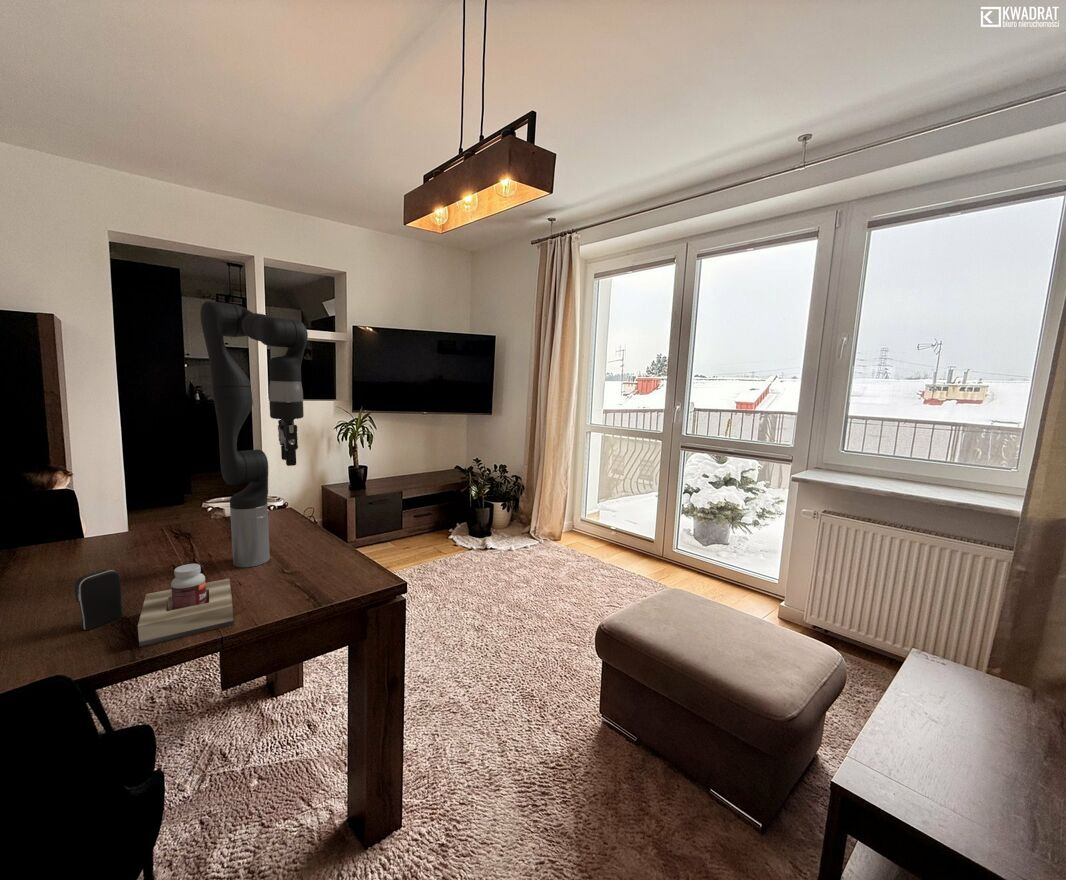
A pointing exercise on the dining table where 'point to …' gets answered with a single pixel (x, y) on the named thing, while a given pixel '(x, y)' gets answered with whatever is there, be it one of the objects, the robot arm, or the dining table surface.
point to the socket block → (184, 614)
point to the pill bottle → (188, 586)
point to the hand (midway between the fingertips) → (288, 462)
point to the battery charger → (98, 598)
